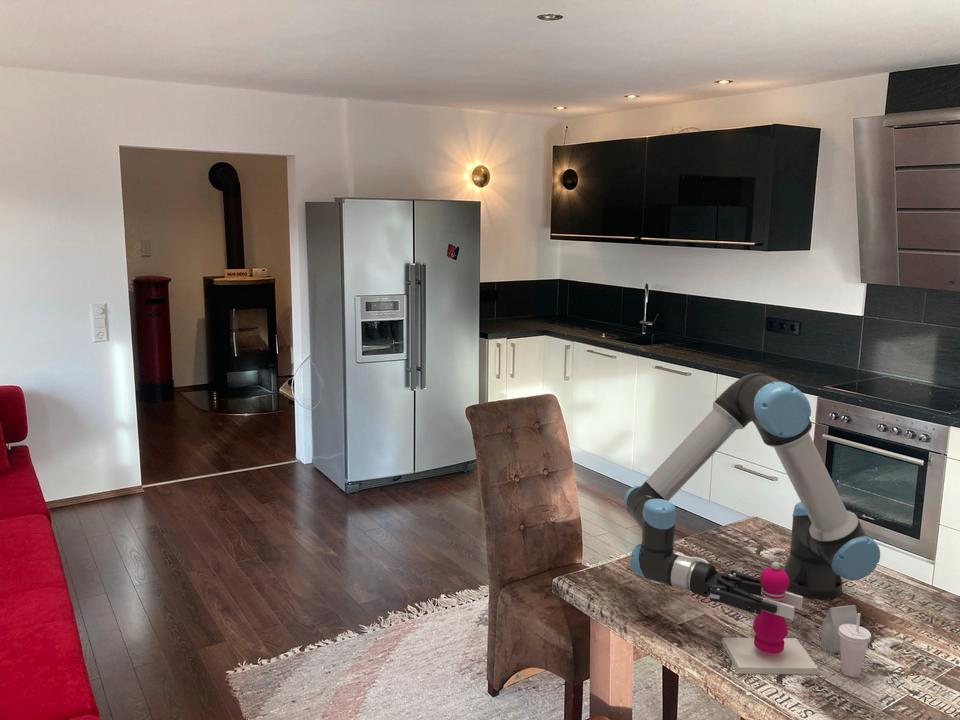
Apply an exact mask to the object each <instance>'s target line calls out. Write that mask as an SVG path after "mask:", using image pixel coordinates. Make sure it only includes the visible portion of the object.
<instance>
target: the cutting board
mask: <svg viewBox="0 0 960 720" xmlns="http://www.w3.org/2000/svg"><path fill="white" fill-rule="evenodd" d="M783 640H784V650H783V651H782V652H781V653H778V654H770V653H765V652H763V651H761V650H759V649H758V648H756V646H755V645H754V637H722V638H721V645H722V644H723V645H722V646H724V647H723V648H724V650H725V652H726V651H727V652H726V654H727V653H728V654H727V656H728V655H729V656H728V658H729V659H730V661H731V660H732V661H731V663H732V665H733V664H734V665H733V666H734V668H735V670H736V672H737V673H738V674H739V675H811V676H812V675H817V676H818V675H819V667H818V665H817V664H816V663H815V662H814V660H813V659H812V658H811V656H810V655H809V654H808V652H807V651H806V650H805V648H804V647H803V645H802V644H801V642H800V641H799V640H798V639H797V637H796V638H792V637H786V638H784V639H783Z"/></svg>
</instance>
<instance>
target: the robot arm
mask: <svg viewBox="0 0 960 720" xmlns="http://www.w3.org/2000/svg"><path fill="white" fill-rule="evenodd" d="M810 417H812V408H811V403H810V402H809V399H808V397H807V396H806V395H805V394H804V392H802V391H801V390H800V389H798V388H797V387H795V386H794V385H792V384H789V383H788V382H785V381H782V380H779V379H777V378H775V377H772V376H771V375H768V374H765V373H761V372H758V373H757V372H755V373H750V374H746V375H744V376H742V377H740V378H738V380H736V381H735V382H733V383H731V385H729V386H728V387H727V388H726V389H725V390H724V391H723V392H722V393H721V394H720V395H719V396H718V397H717V398H716V399H715V400H714V401H713V403H712V410H710V412H709V413H707V415H706V416H705V417H704V418H703V420H702V421H701V422H700V423H699V424H698V425H697V426H696V427H695V428H694V429H693V430H692V431H691V432H690V433H689V434H688V435H687V436H686V437H685V438H684V440H683V441H682V442H681V443H680V444H678V446H677V447H676V448H675V449H674V450H673V451H672V453H670V455H668V457H667V458H666V459H665V460H664V461H663V462H662V463H661V464H660V466H659V467H657V468H656V470H655V471H653V473H652V474H651V475H650V476H649V477H648V478H647V479H646V480H645V482H643V483H642V484H641V485H635V486H633V487H630V488H628V490H626V492H625V495H624V498H623V503H624V507H625V508H626V511H627V512H628V514H629V516H630V517H632V518H633V519H634V521H635V522H636V524H637V525H638V527H639V528H640V530H641V531H642V532H641V543H639V544H636V545H635V546H634V548H633V549H632V551H631V553H630V554H631V555H630V558H629V567H630V570H631V572H632V573H633V574H635V575H637V576H639V577H642V578H644V579H645V580H649V581H650V580H653V581H657V582H660V583H663V584H662V585H667V586H670V587H673V588H676V589H679V590H680V591H682V592H683V591H685V592H691V593H692V594H694V595H698V596H701V597H703V598H709V601H710V602H714V603H715V602H716V603H719V604H724V605H726V606H729V607H733V608H736V609H739V610H741V611H744V612H748V613H750V614H754V613H755V614H756V615H757V614H761V610H763V611H766V612H769V613H773V614H776V615H779V616H782V617H785V619H788V620H792V621H793V620H794V619H795V608H796V609H799V610H802V608H803V601H804V600H803V599H804V597H807V598H811V599H818V600H828V599H829V598H830V599H834V597H835V598H838V597H839V596H841V595H842V593H843V579H844V580H848V581H858V580H862V579H864V578H867V577H868V576H870V575H871V574H872V573H873V572H874V571H875V570H876V568H877V565H878V564H879V562H880V560H881V549H880V546H879V545H878V544H877V542H876V541H875V540H874V538H872V537H871V536H870V537H869V536H868V534H866V532H865V531H864V530H865V529H864V528H863V526H862V524H861V522H860V520H859V518H858V516H857V515H856V513H855V512H852V511H850V510H847V508H846V506H845V504H844V502H843V500H842V498H841V496H840V494H839V491H838V490H837V488H836V486H835V484H834V482H833V479H832V478H831V476H830V472H829V471H828V469H827V467H826V465H825V463H824V461H823V459H822V457H821V455H820V453H819V451H818V448H817V447H816V445H815V443H814V440H813V438H812V436H811V434H810V432H811V430H812V427H813V423H812V421H811V419H810ZM751 422H752V423H753V424H754V425H755V427H756V429H757V431H758V434H759V435H760V437H761V439H762V442H763V443H764V444H765V446H769V447H772V448H774V451H775V452H776V455H777V456H778V459H779V460H780V463H781V464H782V467H783V468H784V471H785V472H786V474H787V476H788V478H789V480H790V482H791V484H792V486H793V488H794V490H795V492H796V494H797V496H798V498H799V500H800V501H799V502H797V503H796V504H795V505H794V507H793V512H792V513H793V514H792V524H791V525H792V527H791V538H790V549H789V550H790V551H789V555H788V557H787V559H786V561H785V563H784V566H783V568H782V570H784V571H785V572H786V573H787V575H788V577H789V586H788V588H787V589H786V590H788V591H786V594H785V596H786V597H785V599H784V600H783V602H782V603H781V602H778V601H774V600H771V599H768V598H765V597H764V598H763V596H762V594H761V591H762V589H761V588H762V587H763V586H762V584H761V582H760V577H755V576H751V575H748V574H745V573H742V572H739V571H737V570H734V569H731V570H730V573H729V574H727V573H722V572H718V571H717V568H716V566H715V565H713V564H711V563H709V562H708V563H705V562H701V561H700V562H698V561H697V560H695V559H691V558H688V557H684V556H680V555H677V554H674V553H675V552H674V547H675V546H674V545H675V544H674V543H675V532H676V531H675V530H676V522H677V517H676V506H675V504H674V503H673V502H671V501H670V500H672V498H673V497H674V496H675V495H676V494H677V493H678V492H679V491H680V490H681V489H682V488H683V487H684V486H685V484H686V483H687V482H688V481H690V479H691V478H692V477H693V476H694V475H695V474H696V473H697V472H698V471H699V469H701V468H702V467H703V465H704V464H705V463H706V462H708V461H709V460H710V458H711V457H712V456H713V455H714V454H715V452H717V451H718V450H719V449H720V448H721V446H723V444H725V442H726V441H727V440H728V439H729V438H730V437H732V435H733V434H734V432H736V431H737V430H743V429H745V428H746V427H747V425H749V424H750V423H751ZM758 596H759V597H758ZM837 596H838V597H837ZM760 597H762V598H760Z"/></svg>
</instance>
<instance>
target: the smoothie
mask: <svg viewBox="0 0 960 720" xmlns="http://www.w3.org/2000/svg"><path fill="white" fill-rule="evenodd" d="M860 623H861V613H860V612H857V625H854V624H843V625H841V626H839V630H838V633H839V635H840V652H839V654H840V671H841V673H842V674H844V675H845V676H847V677H849V678H858V677H860V676H861V673H862V669H863V664H864V661H865V657H866V654H867V650H868V645H869V643H870V642H871V641H872V634H871V632H870V631H869V630H868V629H867V628H865V627H863V626H859V625H860Z"/></svg>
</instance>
